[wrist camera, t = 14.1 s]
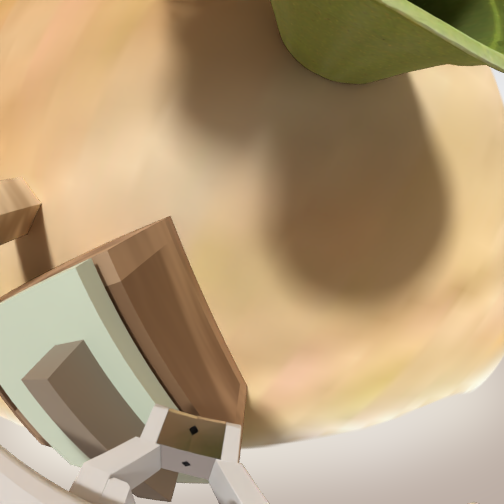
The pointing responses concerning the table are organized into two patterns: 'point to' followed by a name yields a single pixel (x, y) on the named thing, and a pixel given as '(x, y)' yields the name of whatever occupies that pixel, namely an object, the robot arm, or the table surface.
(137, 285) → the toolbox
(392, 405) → the table surface
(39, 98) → the table surface
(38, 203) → the wooden block
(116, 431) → the lid
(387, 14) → the plant pot
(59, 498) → the robot arm
